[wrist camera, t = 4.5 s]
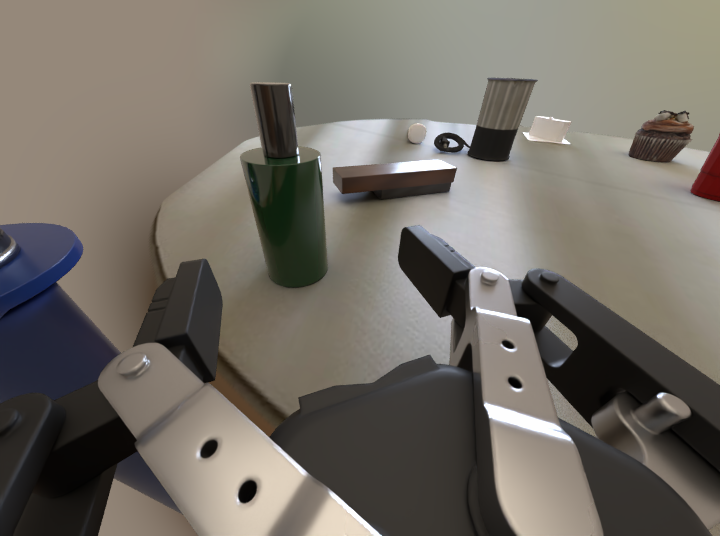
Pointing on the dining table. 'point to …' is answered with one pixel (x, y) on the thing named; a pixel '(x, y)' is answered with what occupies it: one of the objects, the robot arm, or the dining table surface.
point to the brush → (396, 178)
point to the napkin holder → (548, 130)
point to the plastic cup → (709, 176)
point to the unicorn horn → (417, 133)
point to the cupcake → (662, 137)
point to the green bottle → (285, 191)
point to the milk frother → (494, 120)
